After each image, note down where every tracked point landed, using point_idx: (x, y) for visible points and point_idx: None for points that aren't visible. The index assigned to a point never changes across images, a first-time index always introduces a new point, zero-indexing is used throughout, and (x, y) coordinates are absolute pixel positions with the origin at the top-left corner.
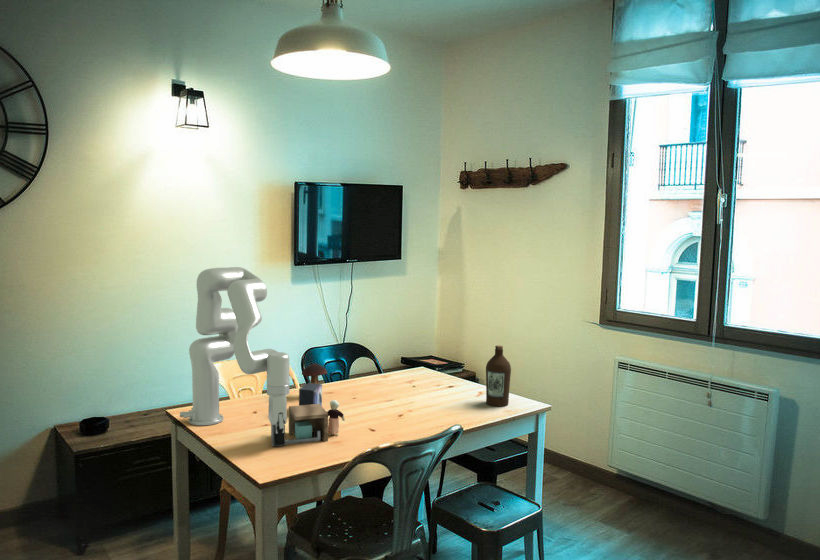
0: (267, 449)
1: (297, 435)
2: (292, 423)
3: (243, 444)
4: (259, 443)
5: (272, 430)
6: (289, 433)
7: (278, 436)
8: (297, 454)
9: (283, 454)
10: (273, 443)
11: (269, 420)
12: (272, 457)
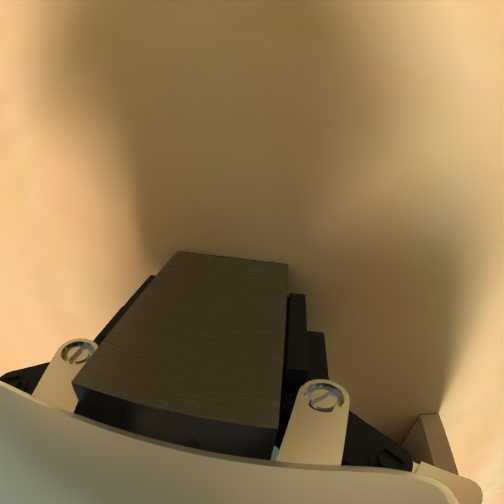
0: (139, 193)
1: (275, 453)
2: None
3: (364, 13)
4: (335, 159)
5: (144, 346)
6: (419, 417)
7: (99, 343)
8: (38, 339)
9: (37, 274)
10: (167, 269)
11: (203, 462)
12: (5, 198)
